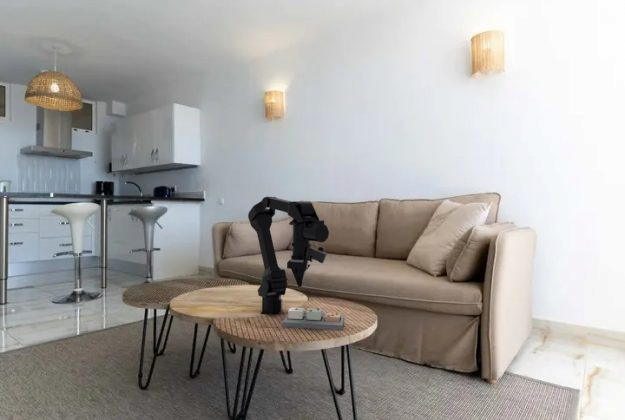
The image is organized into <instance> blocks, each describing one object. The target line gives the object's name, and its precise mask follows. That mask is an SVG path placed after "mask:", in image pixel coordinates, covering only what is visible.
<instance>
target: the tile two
mask: <svg viewBox="0 0 625 420" xmlns="http://www.w3.org/2000/svg"><path fill="white" fill-rule="evenodd" d="M306 313H307V320H321V318H322V314H323V308H309V307H308V309H307V311H306Z"/></svg>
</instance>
